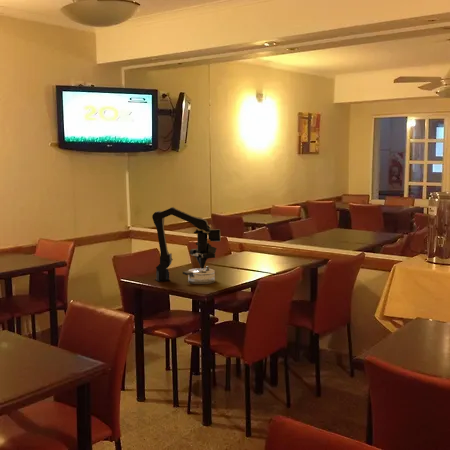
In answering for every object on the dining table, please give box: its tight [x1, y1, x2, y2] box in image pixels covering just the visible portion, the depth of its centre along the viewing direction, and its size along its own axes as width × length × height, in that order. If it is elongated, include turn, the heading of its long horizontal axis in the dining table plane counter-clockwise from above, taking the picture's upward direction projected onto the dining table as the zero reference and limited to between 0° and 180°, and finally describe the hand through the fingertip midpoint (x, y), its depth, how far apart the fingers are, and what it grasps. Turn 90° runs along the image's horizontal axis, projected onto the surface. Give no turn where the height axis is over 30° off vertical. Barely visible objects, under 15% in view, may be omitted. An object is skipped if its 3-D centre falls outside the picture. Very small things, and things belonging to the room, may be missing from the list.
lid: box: [182, 265, 216, 276], centre depth 327 cm, size 18×15×3 cm
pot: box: [187, 272, 216, 285], centre depth 329 cm, size 15×15×5 cm
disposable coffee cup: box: [190, 254, 201, 269], centre depth 359 cm, size 10×10×12 cm
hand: (202, 268), depth 328 cm, fingers closed
